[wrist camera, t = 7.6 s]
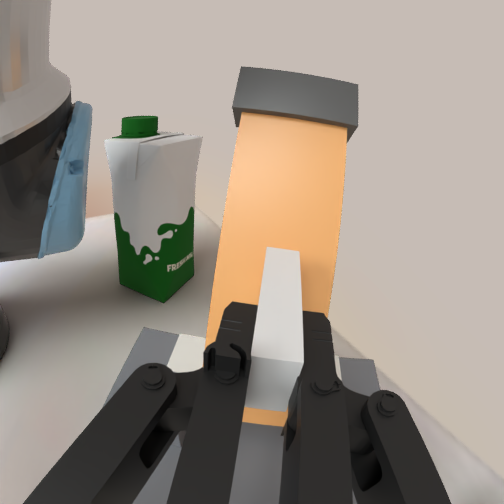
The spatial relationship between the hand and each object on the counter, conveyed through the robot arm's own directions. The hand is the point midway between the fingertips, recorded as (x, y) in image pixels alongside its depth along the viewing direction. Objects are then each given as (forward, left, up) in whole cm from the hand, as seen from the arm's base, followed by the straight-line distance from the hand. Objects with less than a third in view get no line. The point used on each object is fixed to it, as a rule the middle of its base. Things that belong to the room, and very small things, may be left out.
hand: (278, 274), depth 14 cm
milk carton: (-22, +5, -15) cm, 27 cm away
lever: (+2, -3, -9) cm, 10 cm away
